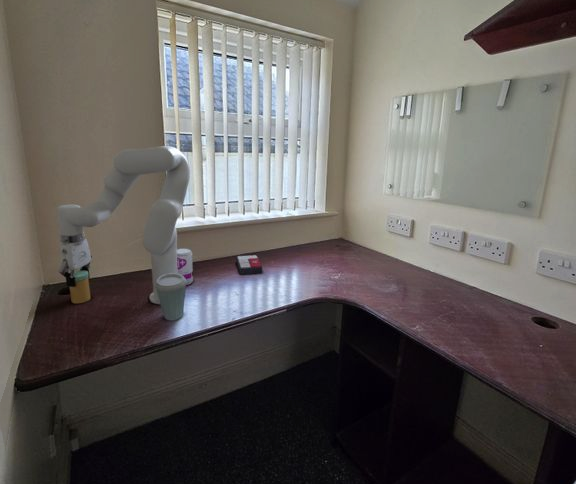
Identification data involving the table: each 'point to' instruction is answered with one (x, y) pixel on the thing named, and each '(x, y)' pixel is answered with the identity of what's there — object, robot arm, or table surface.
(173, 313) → the disposable coffee cup
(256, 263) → the black product box
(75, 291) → the jam jar
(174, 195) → the robot arm
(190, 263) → the supplement can
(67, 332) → the table surface
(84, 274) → the lid
